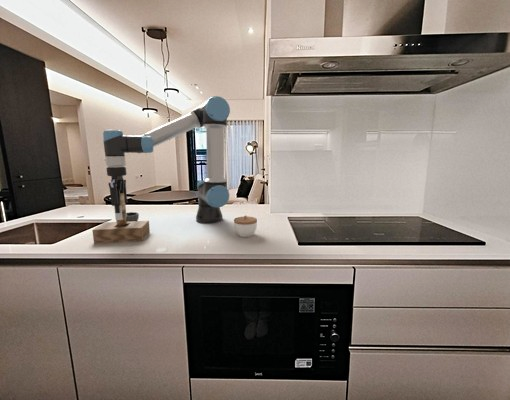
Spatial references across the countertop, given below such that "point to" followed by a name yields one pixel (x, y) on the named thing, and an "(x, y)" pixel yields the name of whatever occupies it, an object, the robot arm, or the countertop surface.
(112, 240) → the socket block
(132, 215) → the mortar and pestle
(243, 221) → the lidded jar
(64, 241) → the countertop surface
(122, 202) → the dowel
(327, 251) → the countertop surface
